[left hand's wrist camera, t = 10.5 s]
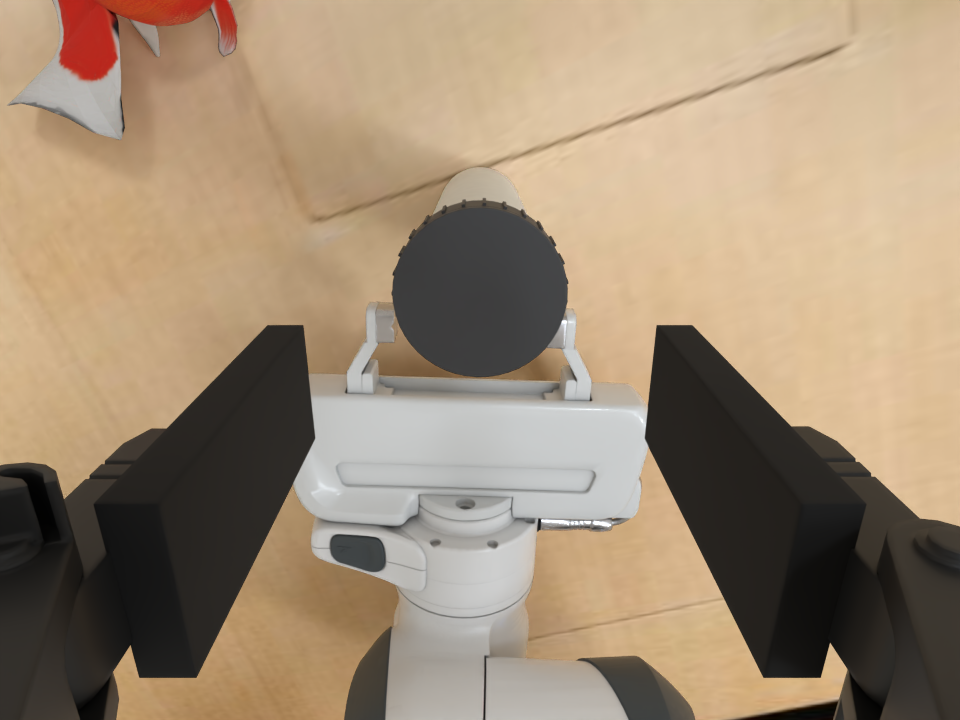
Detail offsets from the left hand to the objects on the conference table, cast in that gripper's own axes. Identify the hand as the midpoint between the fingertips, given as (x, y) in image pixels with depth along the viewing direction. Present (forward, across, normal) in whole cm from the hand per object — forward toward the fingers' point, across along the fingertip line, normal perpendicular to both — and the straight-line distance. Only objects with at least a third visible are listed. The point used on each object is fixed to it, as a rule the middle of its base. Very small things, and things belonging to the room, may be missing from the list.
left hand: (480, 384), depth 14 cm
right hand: (+19, 0, +4) cm, 20 cm away
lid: (+7, 0, 0) cm, 7 cm away
